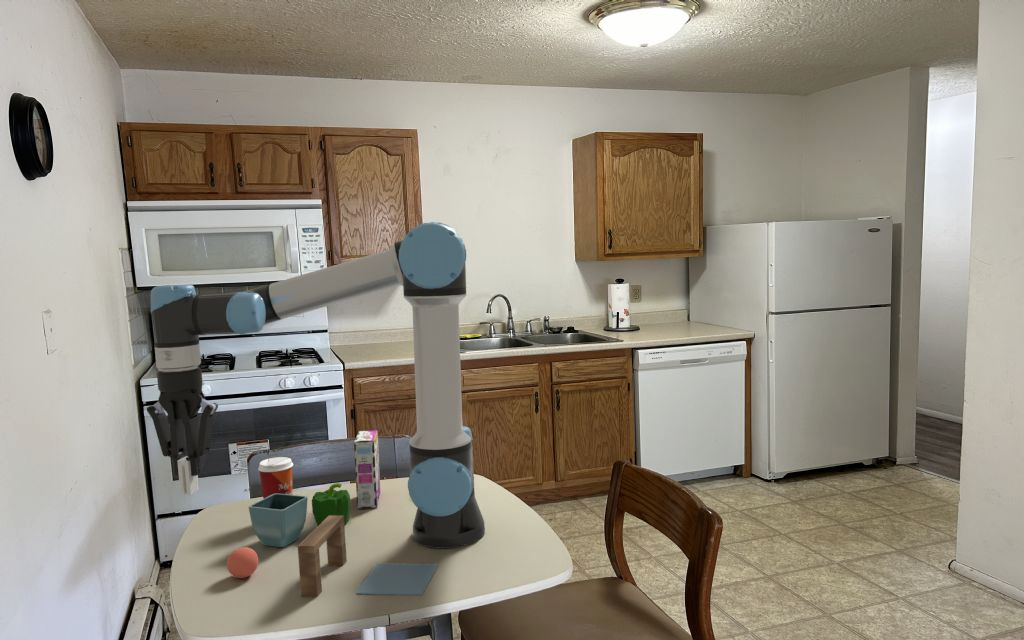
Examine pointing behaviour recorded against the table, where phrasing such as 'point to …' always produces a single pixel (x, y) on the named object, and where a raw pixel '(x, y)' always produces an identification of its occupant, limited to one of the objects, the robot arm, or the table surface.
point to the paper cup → (276, 476)
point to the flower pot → (279, 518)
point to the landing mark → (397, 579)
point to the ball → (242, 562)
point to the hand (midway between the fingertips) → (189, 491)
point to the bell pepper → (331, 504)
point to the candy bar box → (367, 469)
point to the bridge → (310, 557)
